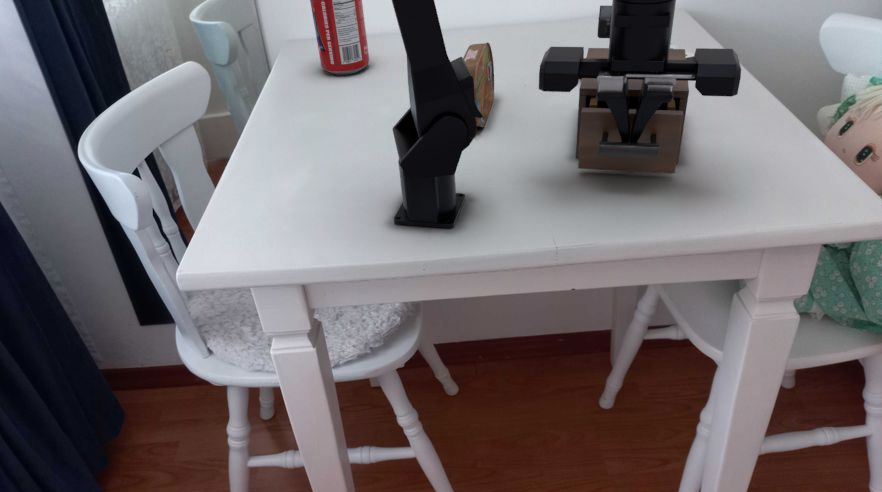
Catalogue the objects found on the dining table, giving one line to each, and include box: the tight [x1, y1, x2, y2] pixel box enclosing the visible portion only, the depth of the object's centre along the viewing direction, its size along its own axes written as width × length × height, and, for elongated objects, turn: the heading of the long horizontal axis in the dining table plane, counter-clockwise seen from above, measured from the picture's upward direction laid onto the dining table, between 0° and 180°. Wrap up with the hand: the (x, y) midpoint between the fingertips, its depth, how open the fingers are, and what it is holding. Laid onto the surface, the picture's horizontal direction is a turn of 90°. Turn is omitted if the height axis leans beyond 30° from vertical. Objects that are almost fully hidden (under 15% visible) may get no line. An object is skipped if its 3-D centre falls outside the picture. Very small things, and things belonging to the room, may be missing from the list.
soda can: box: [309, 0, 370, 76], centre depth 109 cm, size 8×8×15 cm
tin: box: [462, 42, 495, 128], centre depth 93 cm, size 15×3×8 cm, turn 168°
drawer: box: [577, 95, 683, 174], centre depth 79 cm, size 17×10×7 cm, turn 166°
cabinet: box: [575, 47, 690, 164], centre depth 84 cm, size 14×12×9 cm
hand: (628, 149), depth 74 cm, fingers closed
